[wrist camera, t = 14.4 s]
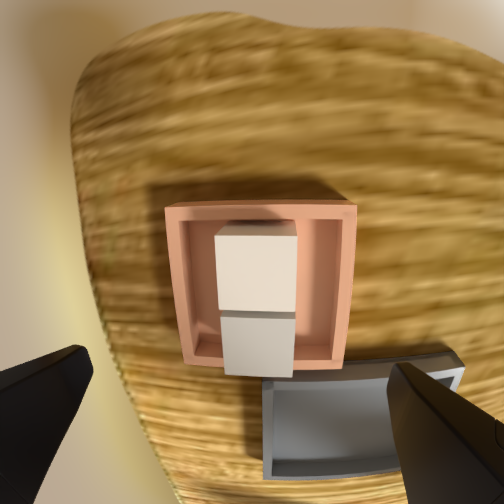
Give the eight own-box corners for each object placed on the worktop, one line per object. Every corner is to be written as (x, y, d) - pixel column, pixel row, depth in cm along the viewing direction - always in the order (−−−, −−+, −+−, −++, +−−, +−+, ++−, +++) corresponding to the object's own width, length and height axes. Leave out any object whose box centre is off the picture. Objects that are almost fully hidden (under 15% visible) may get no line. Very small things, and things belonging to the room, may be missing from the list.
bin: (453, 350, 20) (465, 366, 18) (410, 451, 24) (415, 467, 22) (264, 361, 22) (261, 381, 20) (265, 462, 26) (263, 479, 24)
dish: (348, 200, 18) (357, 205, 16) (337, 349, 21) (341, 368, 19) (178, 202, 19) (164, 207, 17) (193, 345, 22) (184, 364, 20)
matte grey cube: (294, 289, 19) (295, 319, 16) (292, 341, 21) (292, 377, 17) (232, 288, 20) (220, 316, 16) (235, 339, 21) (225, 374, 17)
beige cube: (295, 220, 18) (297, 236, 14) (293, 282, 19) (295, 311, 16) (229, 220, 19) (214, 235, 15) (231, 281, 20) (219, 309, 16)
